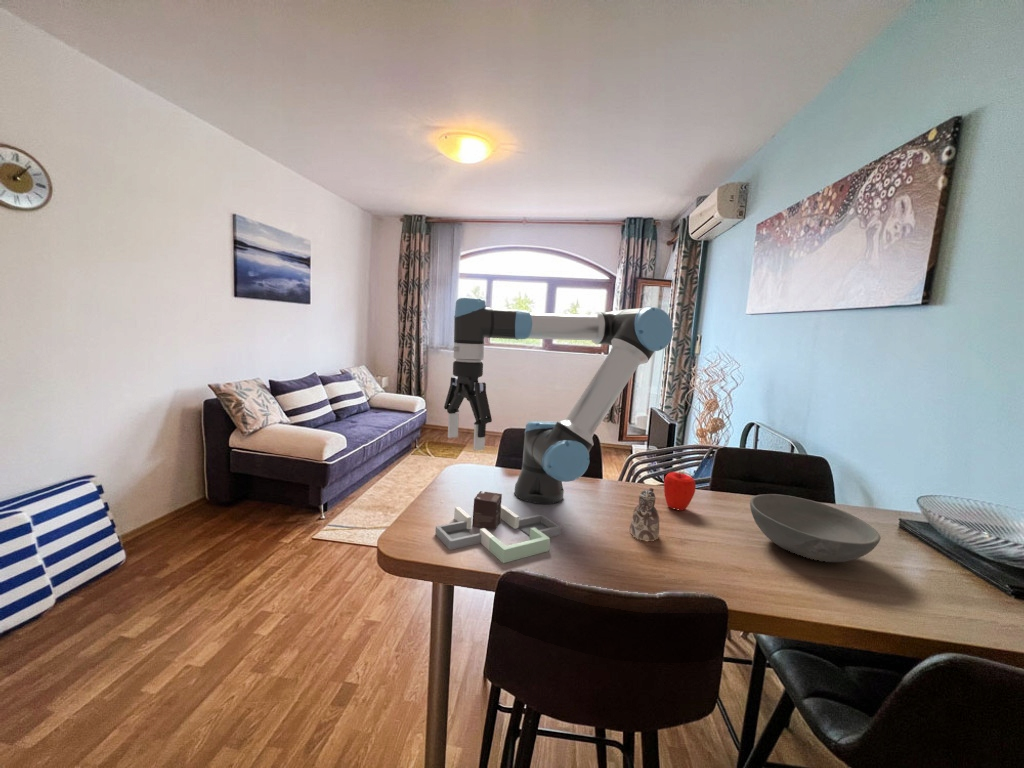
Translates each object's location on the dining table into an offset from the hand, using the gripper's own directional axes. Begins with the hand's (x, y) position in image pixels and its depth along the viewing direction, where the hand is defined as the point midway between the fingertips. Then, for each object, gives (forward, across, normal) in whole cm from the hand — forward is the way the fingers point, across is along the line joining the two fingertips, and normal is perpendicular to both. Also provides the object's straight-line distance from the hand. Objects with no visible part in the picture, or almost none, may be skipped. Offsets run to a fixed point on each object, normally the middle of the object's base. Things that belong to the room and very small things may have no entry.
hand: (465, 443), depth 107 cm
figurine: (+21, +30, +36) cm, 52 cm away
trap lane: (+20, +12, +3) cm, 24 cm away
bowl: (+22, +55, +68) cm, 90 cm away
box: (+20, +6, +3) cm, 21 cm away
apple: (+22, +22, +62) cm, 69 cm away
